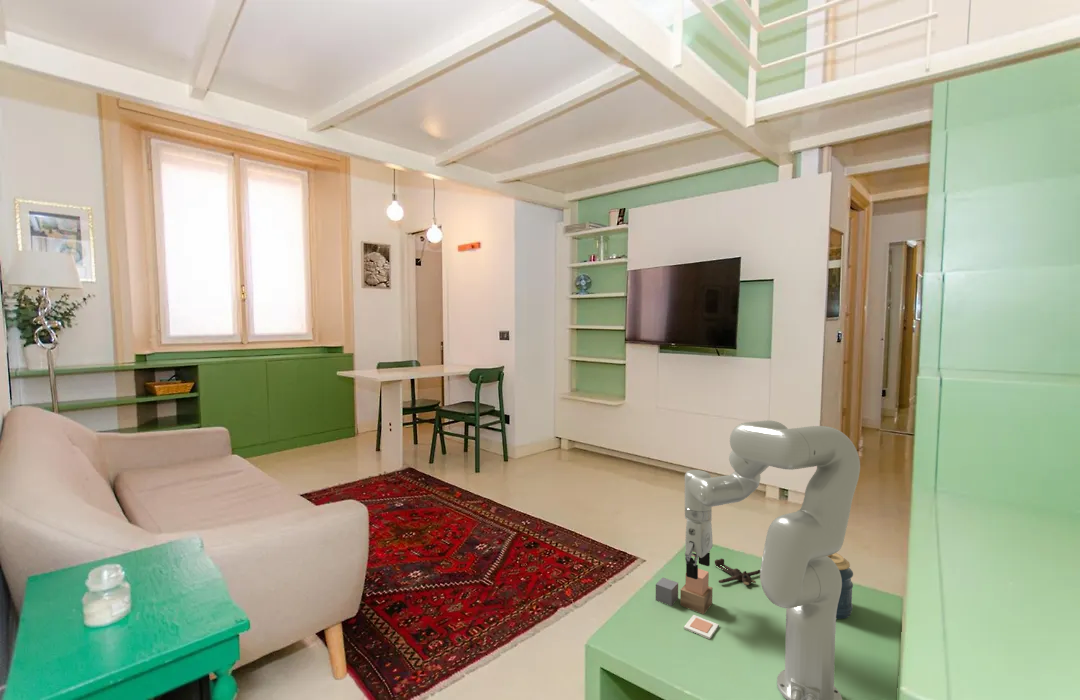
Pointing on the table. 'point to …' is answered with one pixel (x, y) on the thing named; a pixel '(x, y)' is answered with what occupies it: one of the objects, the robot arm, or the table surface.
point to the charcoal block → (666, 591)
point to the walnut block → (696, 600)
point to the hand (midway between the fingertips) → (698, 571)
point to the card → (701, 626)
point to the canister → (844, 586)
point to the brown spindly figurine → (736, 573)
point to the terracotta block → (698, 583)
